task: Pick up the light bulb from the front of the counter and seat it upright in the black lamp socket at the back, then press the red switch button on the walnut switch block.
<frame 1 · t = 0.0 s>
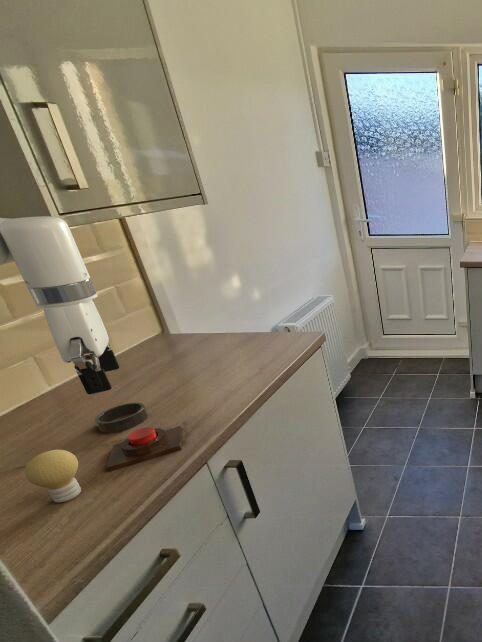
hand: (104, 380, 77), 20 cm above the countertop, tool pointing down, fingers open, 9 cm apart
light bulb: (69, 497, 78), on the countertop
switch button: (142, 436, 89), point 3 cm above the countertop, slide at 0.1 cm
socket: (126, 426, 98), on the countertop
switch block: (148, 449, 90), on the countertop
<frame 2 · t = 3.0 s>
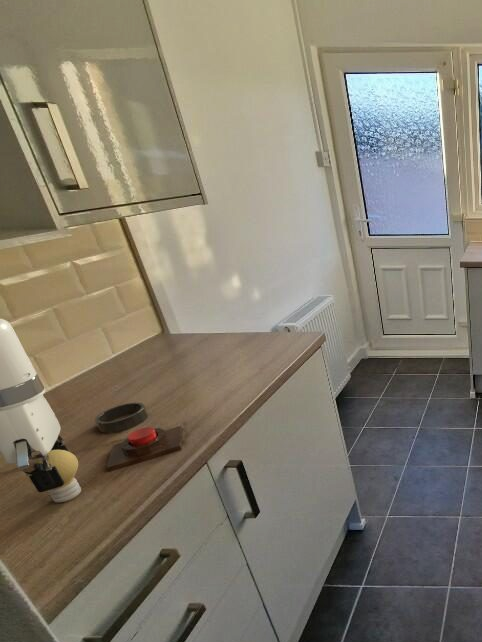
hand: (57, 475, 76), 5 cm above the countertop, tool pointing down, fingers closed on light bulb, 6 cm apart
light bulb: (69, 497, 78), on the countertop, touching gripper
everything else where it was.
when the fingers open (6 cm above the countertop, at t = 10.5 s): light bulb stays where it is, resting on socket.
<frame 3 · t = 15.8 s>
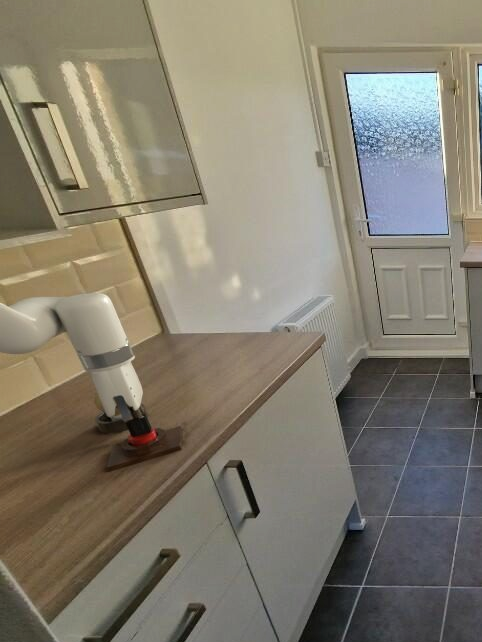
hand: (142, 432, 88), 4 cm above the countertop, tool pointing down, fingers closed
light bulb: (125, 424, 98), point 1 cm above the countertop, touching socket
switch button: (142, 436, 89), point 3 cm above the countertop, slide at 0.1 cm, touching gripper
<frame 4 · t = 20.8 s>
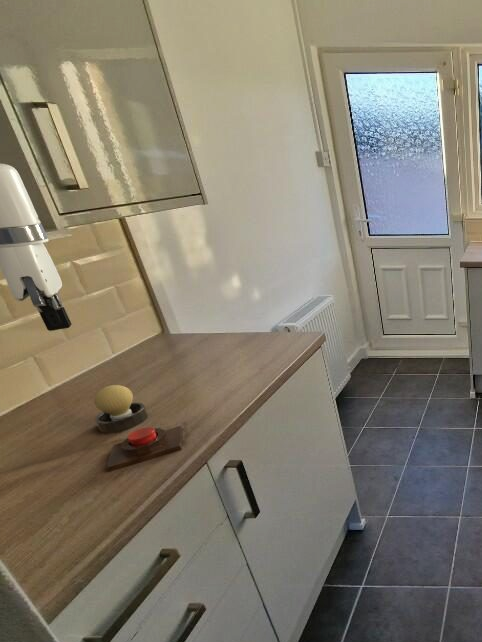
hand: (60, 328, 83), 27 cm above the countertop, tool pointing down, fingers closed
switch button: (142, 436, 89), point 3 cm above the countertop, slide at 0.1 cm
everything else where it was.
at the end: light bulb 0.0 cm off-centre in the socket, point 0.6 cm above the socket's base; switch button pushed in 1.1 cm at the most during the clip, back to where it started at the end; switch button slide at 0.1 cm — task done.
